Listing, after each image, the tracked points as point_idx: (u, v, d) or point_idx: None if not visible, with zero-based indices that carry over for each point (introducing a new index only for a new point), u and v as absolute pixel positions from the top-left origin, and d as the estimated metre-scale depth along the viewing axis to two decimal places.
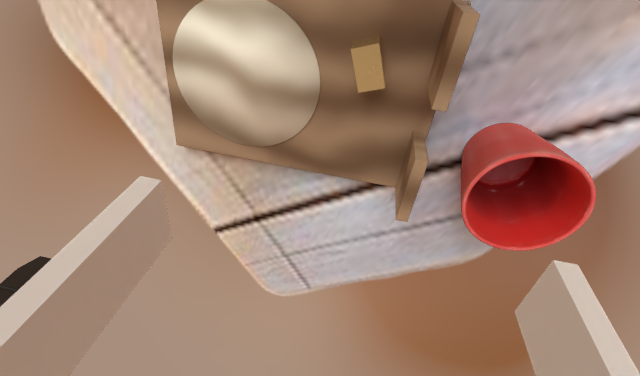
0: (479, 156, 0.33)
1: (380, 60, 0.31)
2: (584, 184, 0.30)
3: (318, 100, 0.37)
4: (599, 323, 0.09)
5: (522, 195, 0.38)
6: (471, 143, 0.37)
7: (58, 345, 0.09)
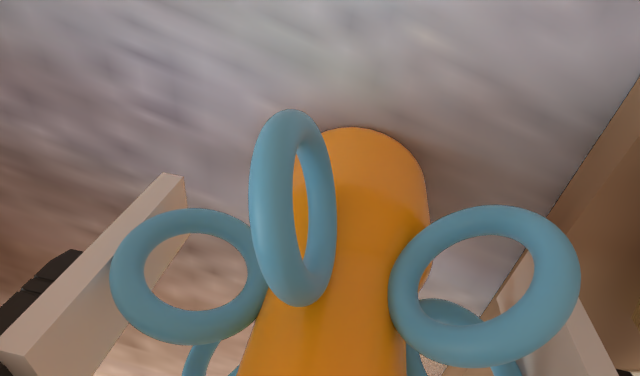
0: None
1: None
2: None
3: None
4: None
5: None
6: None
7: (92, 334, 0.09)
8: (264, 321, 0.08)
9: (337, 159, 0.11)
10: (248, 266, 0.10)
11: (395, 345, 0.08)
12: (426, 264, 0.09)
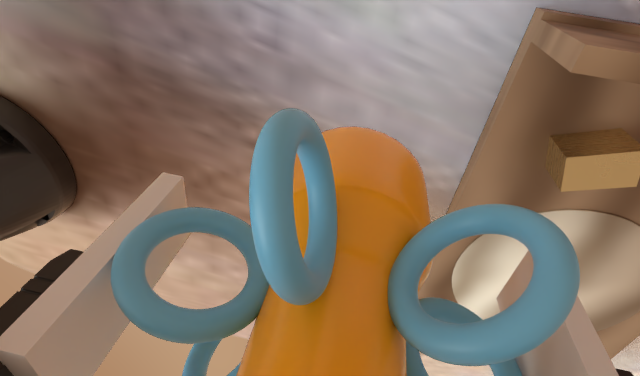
0: None
1: (594, 156, 0.21)
2: None
3: (617, 216, 0.26)
4: None
5: None
6: None
7: (92, 334, 0.09)
8: (265, 319, 0.08)
9: (337, 158, 0.11)
10: (249, 265, 0.10)
11: (395, 343, 0.08)
12: (426, 263, 0.09)
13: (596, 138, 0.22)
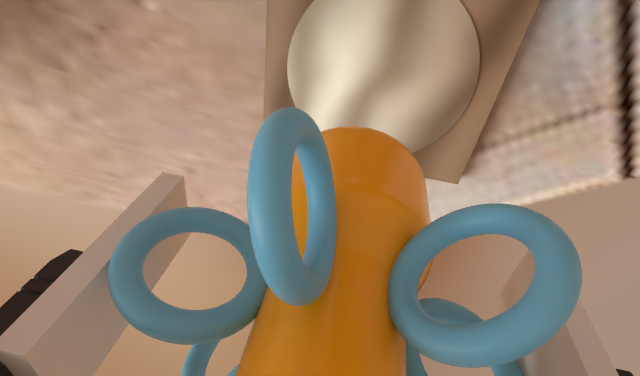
0: None
1: None
2: None
3: None
4: None
5: None
6: None
7: (92, 334, 0.09)
8: (263, 320, 0.08)
9: (337, 158, 0.11)
10: (247, 265, 0.10)
11: (395, 344, 0.08)
12: (426, 263, 0.09)
13: None
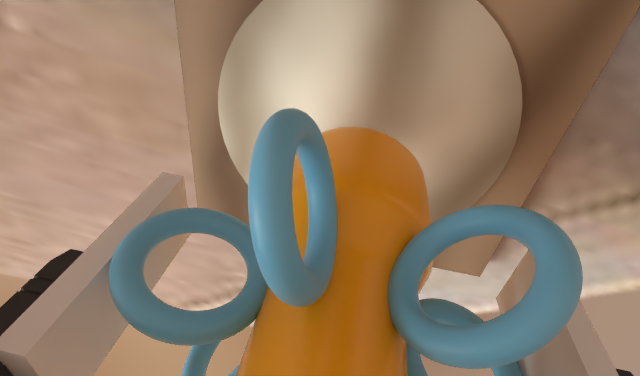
0: None
1: None
2: None
3: None
4: None
5: None
6: None
7: (92, 334, 0.09)
8: (264, 320, 0.08)
9: (337, 159, 0.11)
10: (248, 266, 0.10)
11: (395, 345, 0.08)
12: (426, 264, 0.09)
13: None
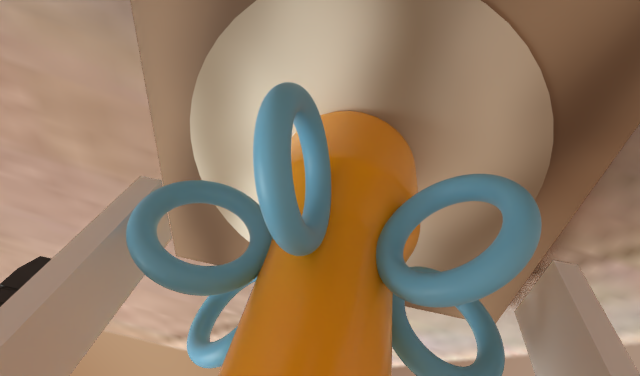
0: None
1: None
2: None
3: None
4: (599, 323, 0.09)
5: None
6: None
7: (58, 345, 0.09)
8: (265, 273, 0.09)
9: (332, 137, 0.12)
10: (250, 232, 0.11)
11: (381, 295, 0.09)
12: (411, 228, 0.10)
13: None
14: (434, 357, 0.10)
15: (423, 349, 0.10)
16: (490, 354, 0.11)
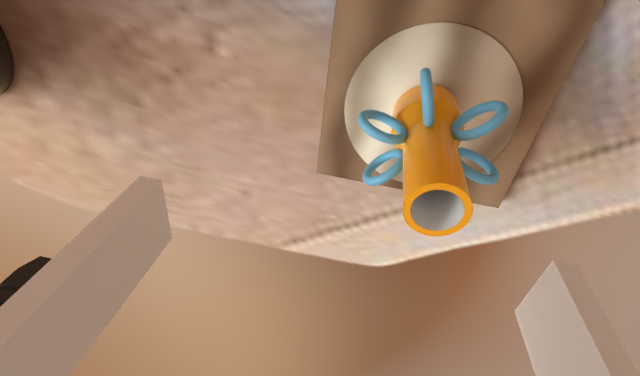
0: None
1: None
2: None
3: (467, 26, 0.29)
4: (599, 323, 0.09)
5: None
6: None
7: (58, 345, 0.09)
8: (412, 136, 0.26)
9: None
10: (397, 128, 0.28)
11: (454, 141, 0.26)
12: (463, 124, 0.27)
13: None
14: None
15: (468, 166, 0.27)
16: (493, 173, 0.27)
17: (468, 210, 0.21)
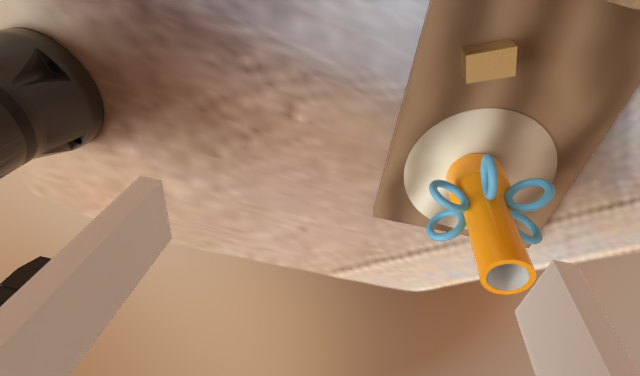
0: None
1: (484, 53, 0.30)
2: None
3: (516, 112, 0.35)
4: (599, 323, 0.09)
5: None
6: None
7: (58, 345, 0.09)
8: (476, 206, 0.33)
9: None
10: (459, 196, 0.35)
11: (510, 211, 0.33)
12: (514, 194, 0.34)
13: (489, 44, 0.31)
14: None
15: None
16: (537, 233, 0.34)
17: (532, 278, 0.27)
